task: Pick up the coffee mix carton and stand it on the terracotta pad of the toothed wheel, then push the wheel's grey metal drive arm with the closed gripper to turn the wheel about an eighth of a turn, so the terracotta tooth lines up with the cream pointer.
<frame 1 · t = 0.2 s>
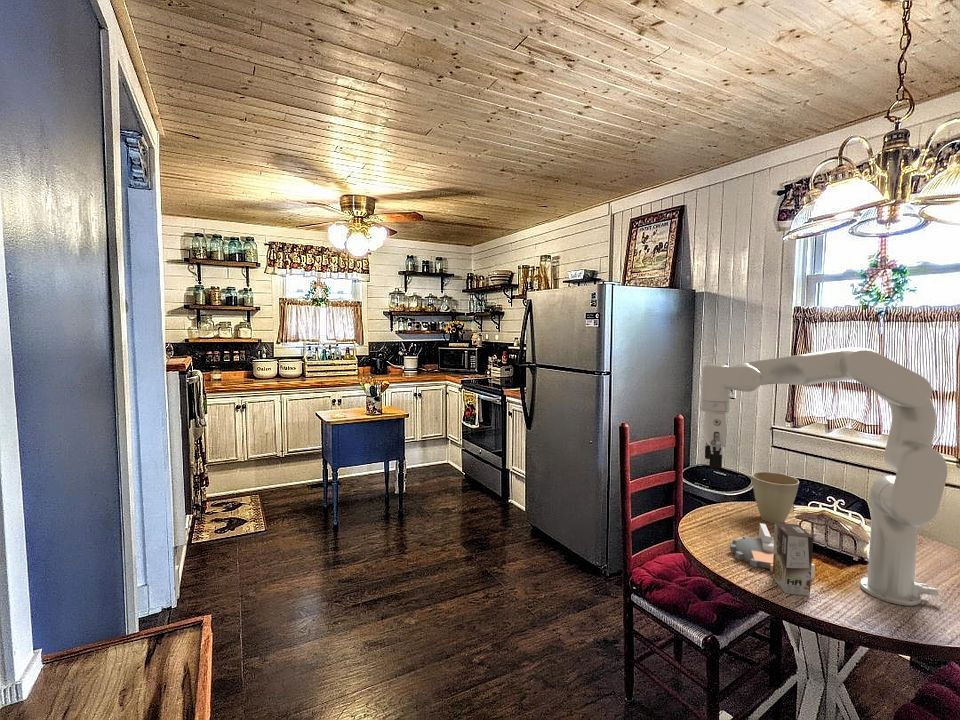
hand: (712, 463, 145), 31 cm above the table, tool pointing down, fingers open, 9 cm apart
wheel stand: (767, 558, 150), on the table
coffee box: (790, 586, 135), on the table
plant pot: (773, 520, 180), on the table
index wheel: (768, 546, 151), point 4 cm above the table, hinge at 0.0°
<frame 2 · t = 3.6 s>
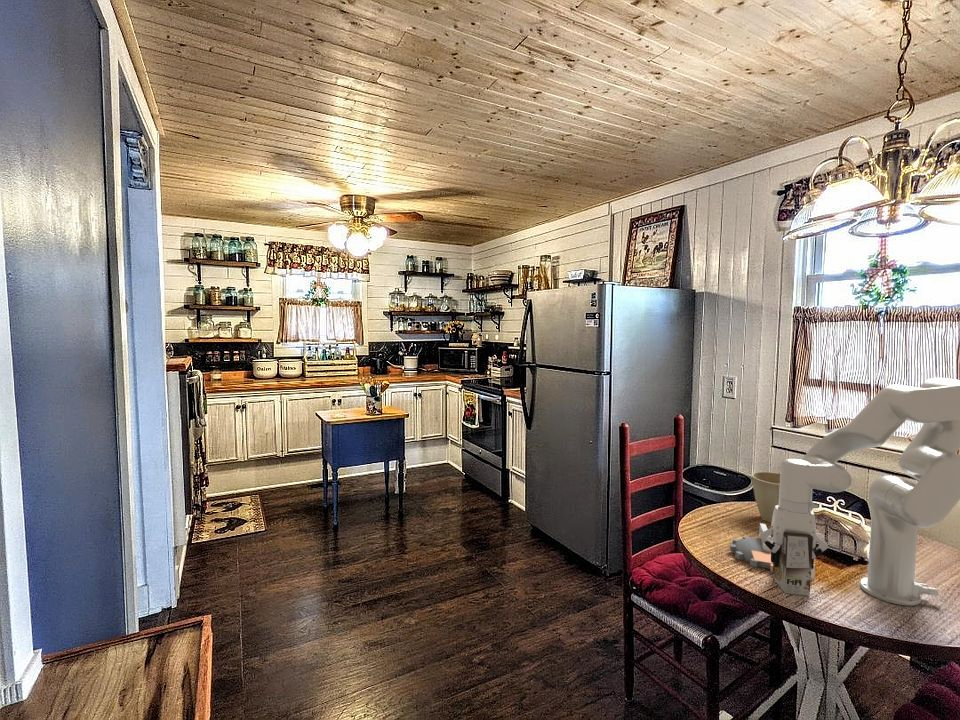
hand: (791, 567, 134), 5 cm above the table, tool pointing down, fingers closed on coffee box, 7 cm apart
coffee box: (790, 586, 135), on the table, touching gripper
everything else where it was.
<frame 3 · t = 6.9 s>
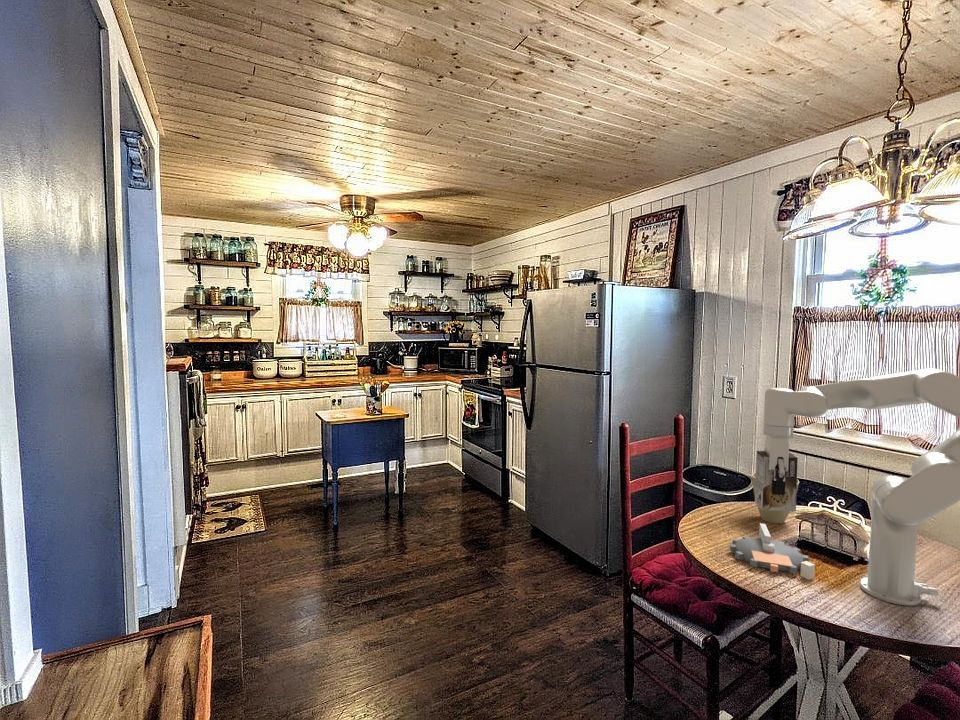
hand: (775, 489, 143), 24 cm above the table, tool pointing down, fingers closed on coffee box, 7 cm apart
coffee box: (774, 507, 144), point 18 cm above the table, touching gripper
everything else where it was.
when the fingers open (9 cm above the table, at t = 10.1 s): coffee box drops 1 cm, resting on index wheel.
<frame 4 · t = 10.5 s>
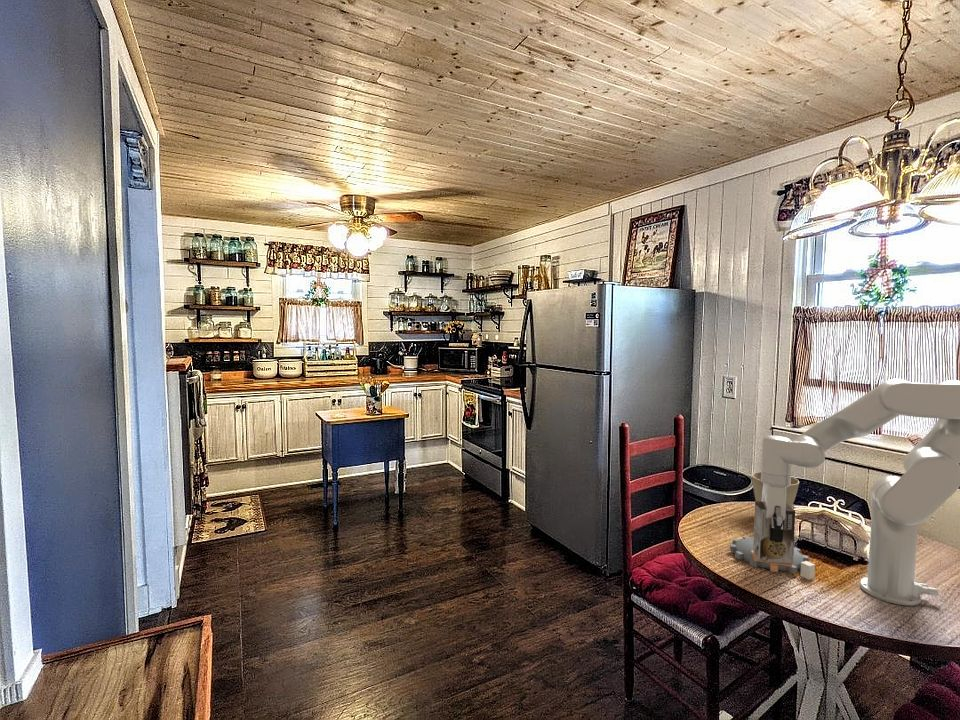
hand: (772, 534, 145), 10 cm above the table, tool pointing down, fingers open, 9 cm apart
coffee box: (772, 558, 145), point 2 cm above the table, touching index wheel
index wheel: (768, 546, 151), point 4 cm above the table, hinge at -0.2°, touching coffee box
everything else where it was.
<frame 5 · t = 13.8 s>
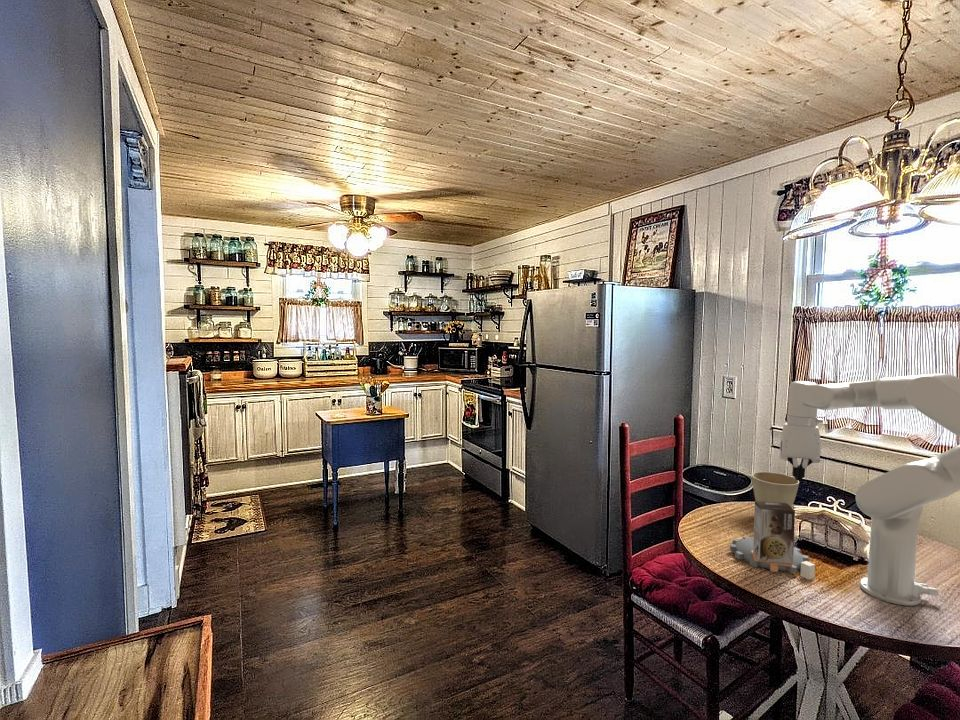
hand: (798, 479, 152), 24 cm above the table, tool pointing down, fingers closed
nothing on the table moved.
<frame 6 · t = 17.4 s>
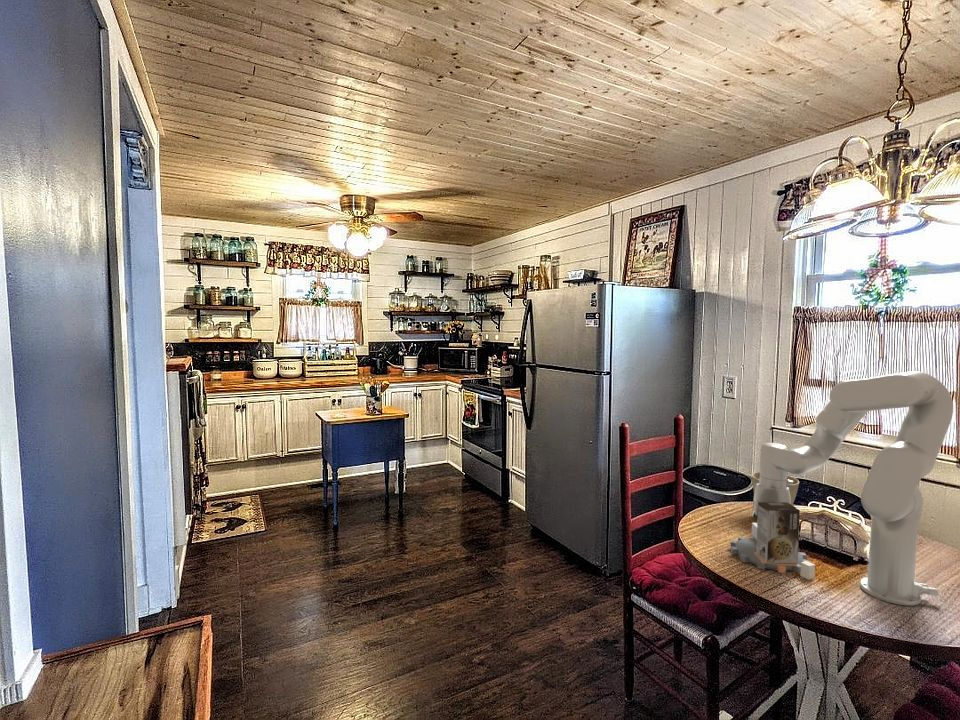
hand: (770, 538, 156), 4 cm above the table, tool pointing down, fingers closed
coffee box: (776, 559, 145), point 2 cm above the table, touching index wheel
index wheel: (767, 545, 151), point 4 cm above the table, hinge at 11.1°, touching coffee box, gripper
everything else where it was.
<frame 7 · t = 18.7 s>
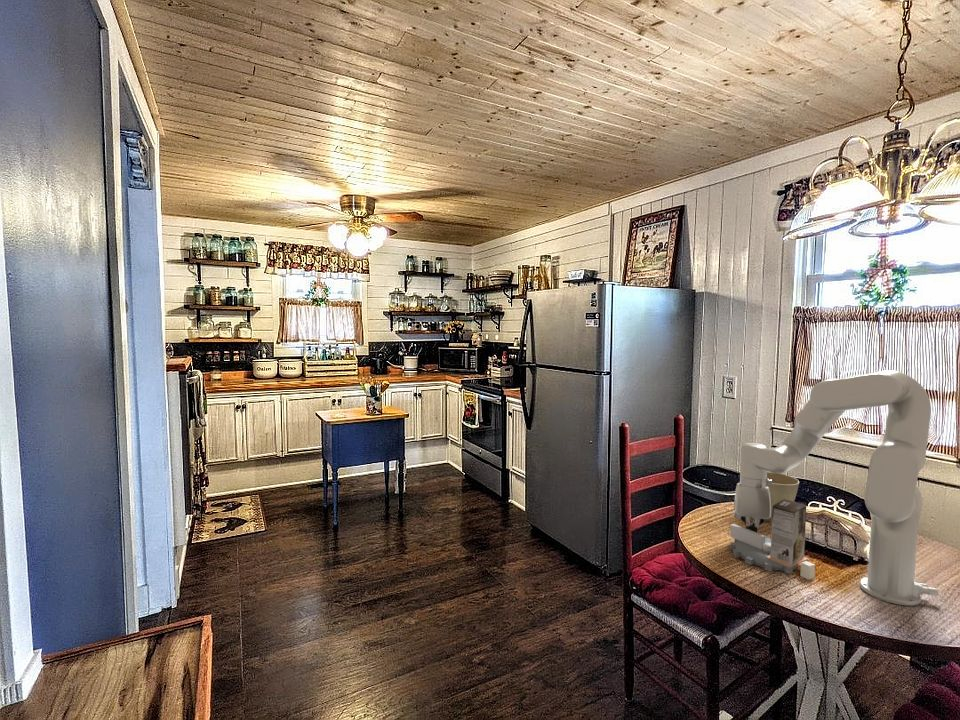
hand: (751, 537, 158), 3 cm above the table, tool pointing down, fingers closed
coffee box: (786, 558, 146), point 2 cm above the table, touching index wheel
index wheel: (765, 546, 151), point 4 cm above the table, hinge at 51.6°, touching coffee box, gripper
everything else where it was.
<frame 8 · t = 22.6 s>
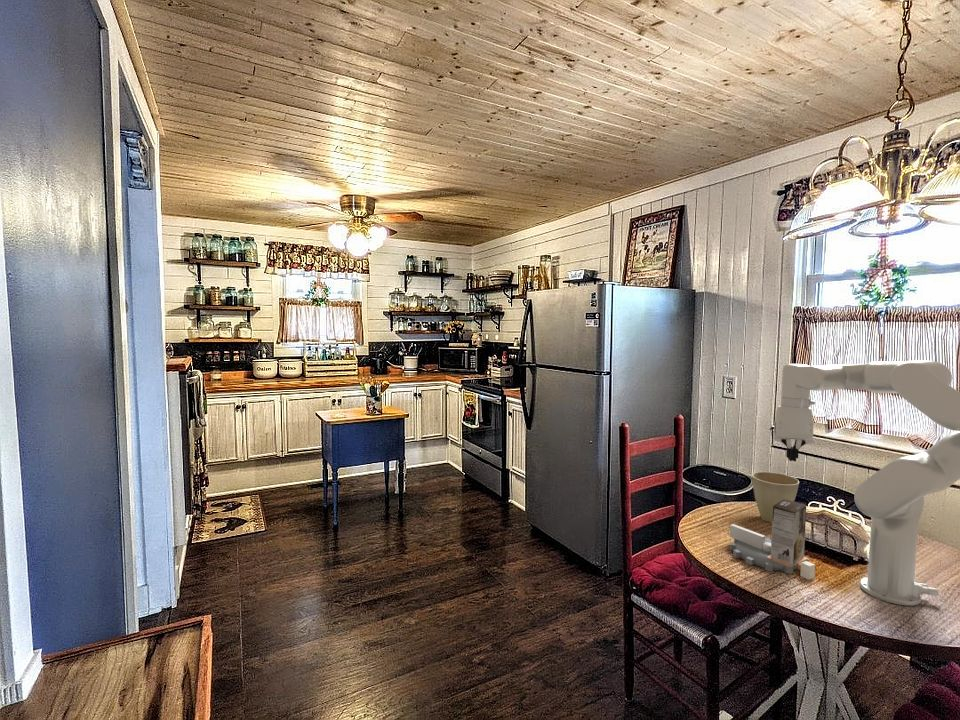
hand: (792, 460, 155), 29 cm above the table, tool pointing down, fingers closed
index wheel: (765, 546, 151), point 4 cm above the table, hinge at 52.5°, touching coffee box
everything else where it was.
at the end: index wheel at +52° (first picture: +0°); coffee box 0.9 cm from the target spot on the index wheel, point 2.4 cm above the index wheel's base; coffee box tilted 0° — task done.
